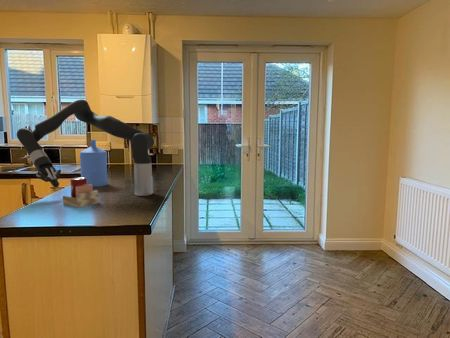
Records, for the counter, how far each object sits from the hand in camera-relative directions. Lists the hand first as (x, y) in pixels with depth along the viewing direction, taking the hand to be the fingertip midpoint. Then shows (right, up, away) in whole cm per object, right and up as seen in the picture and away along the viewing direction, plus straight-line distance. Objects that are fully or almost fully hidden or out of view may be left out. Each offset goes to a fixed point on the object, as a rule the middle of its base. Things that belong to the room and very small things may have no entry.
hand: (57, 186), depth 164 cm
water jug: (+3, -2, +40) cm, 40 cm away
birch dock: (+15, -8, -8) cm, 18 cm away
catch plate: (+17, -8, -9) cm, 21 cm away
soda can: (+14, -8, -7) cm, 18 cm away
